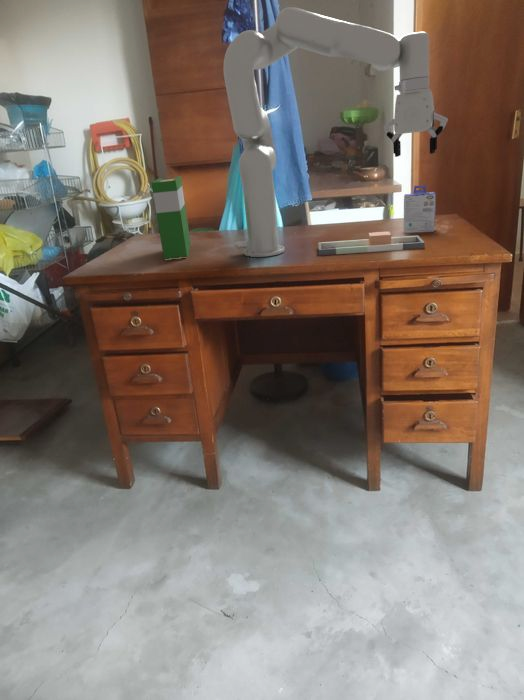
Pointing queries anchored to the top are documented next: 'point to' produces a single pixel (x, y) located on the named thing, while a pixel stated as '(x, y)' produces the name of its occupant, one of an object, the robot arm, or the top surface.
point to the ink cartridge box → (419, 211)
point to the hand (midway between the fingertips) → (414, 154)
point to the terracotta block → (379, 238)
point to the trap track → (363, 246)
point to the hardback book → (171, 217)
